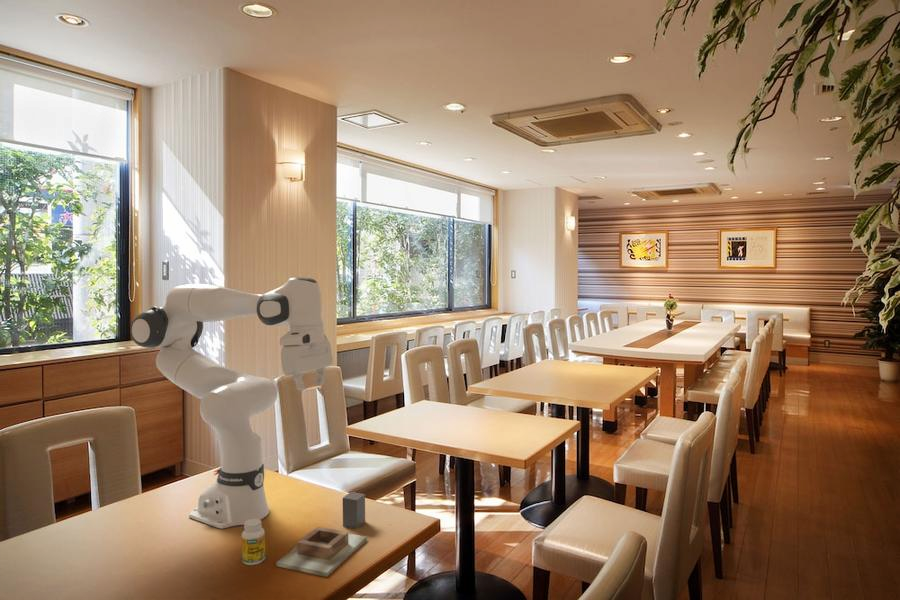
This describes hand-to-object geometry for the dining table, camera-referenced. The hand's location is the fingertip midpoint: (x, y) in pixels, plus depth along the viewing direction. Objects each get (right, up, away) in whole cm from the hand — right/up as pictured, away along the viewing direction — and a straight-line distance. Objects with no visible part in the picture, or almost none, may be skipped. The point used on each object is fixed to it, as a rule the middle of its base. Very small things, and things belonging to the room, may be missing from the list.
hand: (310, 387), depth 157 cm
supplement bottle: (-10, -40, -15) cm, 44 cm away
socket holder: (+6, -40, -12) cm, 42 cm away
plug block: (+11, -39, +5) cm, 41 cm away
